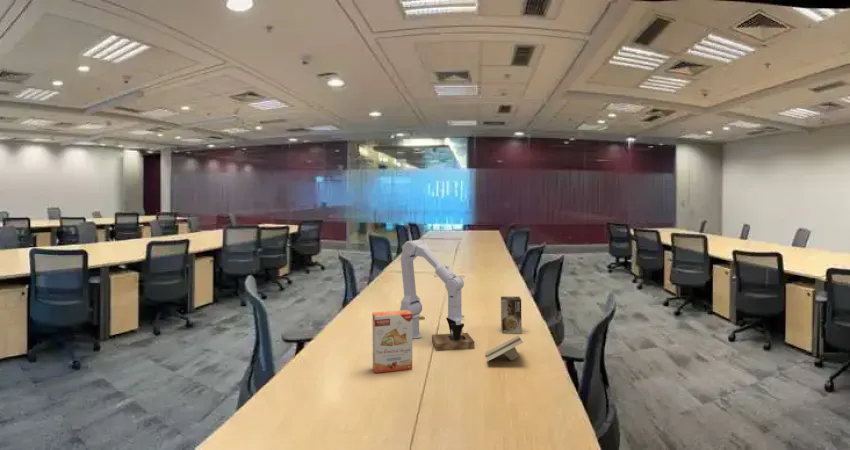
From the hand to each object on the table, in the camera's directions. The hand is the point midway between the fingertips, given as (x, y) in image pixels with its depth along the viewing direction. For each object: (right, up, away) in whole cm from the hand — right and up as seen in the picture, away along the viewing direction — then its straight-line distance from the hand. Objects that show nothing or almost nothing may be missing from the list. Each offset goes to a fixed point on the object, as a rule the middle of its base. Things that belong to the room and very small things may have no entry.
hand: (454, 336), depth 179 cm
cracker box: (-25, -5, -26) cm, 36 cm away
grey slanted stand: (+17, -5, -17) cm, 25 cm away
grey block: (+1, -3, 0) cm, 3 cm away
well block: (-1, -3, 0) cm, 4 cm away
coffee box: (+28, -3, +18) cm, 33 cm away
